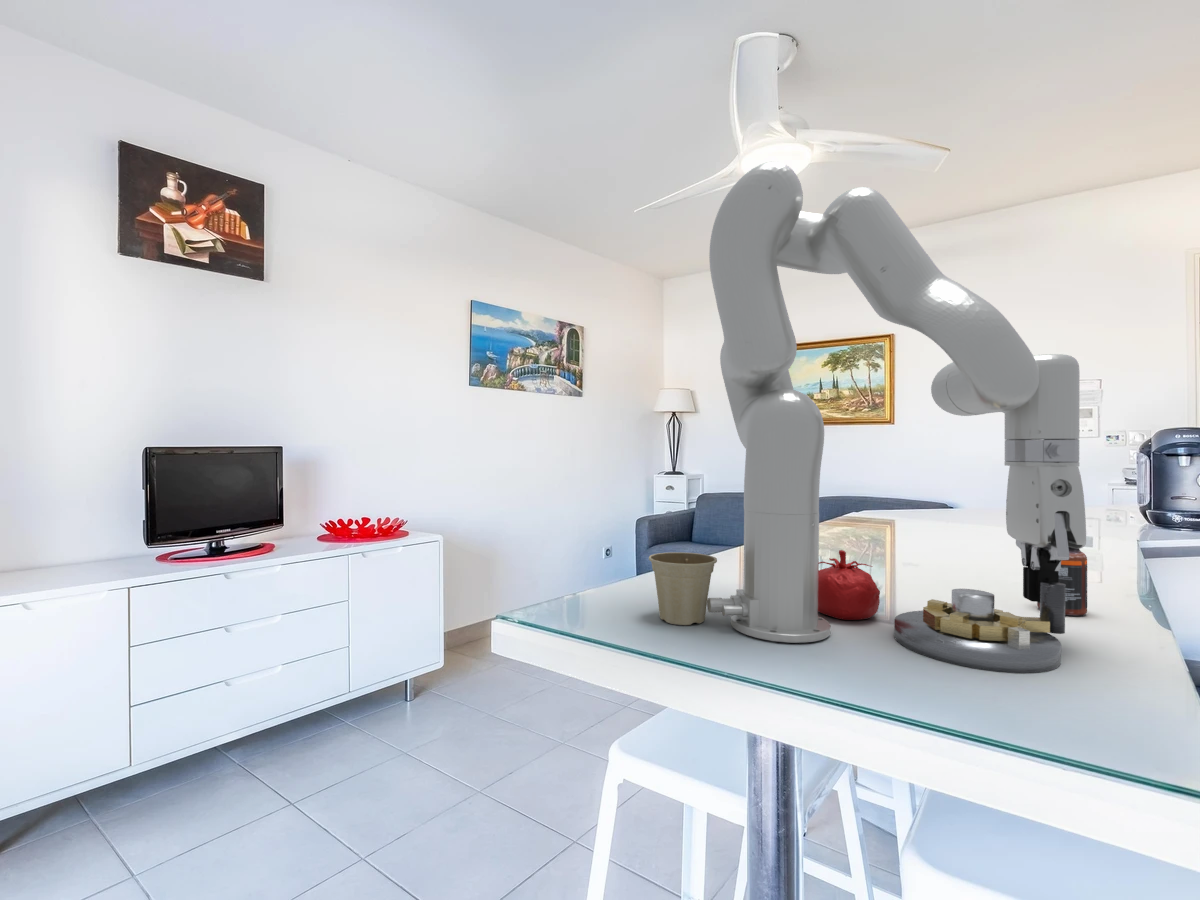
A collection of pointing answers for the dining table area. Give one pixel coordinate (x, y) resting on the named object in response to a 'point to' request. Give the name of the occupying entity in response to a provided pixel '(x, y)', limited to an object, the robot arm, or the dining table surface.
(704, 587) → the flower pot
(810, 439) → the robot arm
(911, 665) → the dining table surface
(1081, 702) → the dining table surface
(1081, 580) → the supplement bottle
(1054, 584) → the gold segmented ring
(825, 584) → the pomegranate
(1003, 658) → the dark oval platter
